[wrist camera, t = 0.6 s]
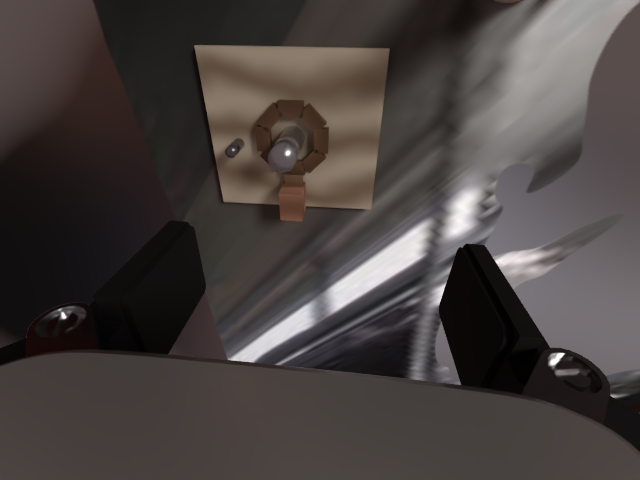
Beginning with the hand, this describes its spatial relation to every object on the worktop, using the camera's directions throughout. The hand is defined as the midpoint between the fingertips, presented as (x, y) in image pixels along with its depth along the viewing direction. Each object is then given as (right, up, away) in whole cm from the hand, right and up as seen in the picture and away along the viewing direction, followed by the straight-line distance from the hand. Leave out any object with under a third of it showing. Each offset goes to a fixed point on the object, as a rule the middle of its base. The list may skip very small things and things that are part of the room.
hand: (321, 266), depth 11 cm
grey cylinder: (-7, +14, +30) cm, 34 cm away
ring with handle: (-4, +12, +31) cm, 33 cm away
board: (-3, +15, +30) cm, 34 cm away
